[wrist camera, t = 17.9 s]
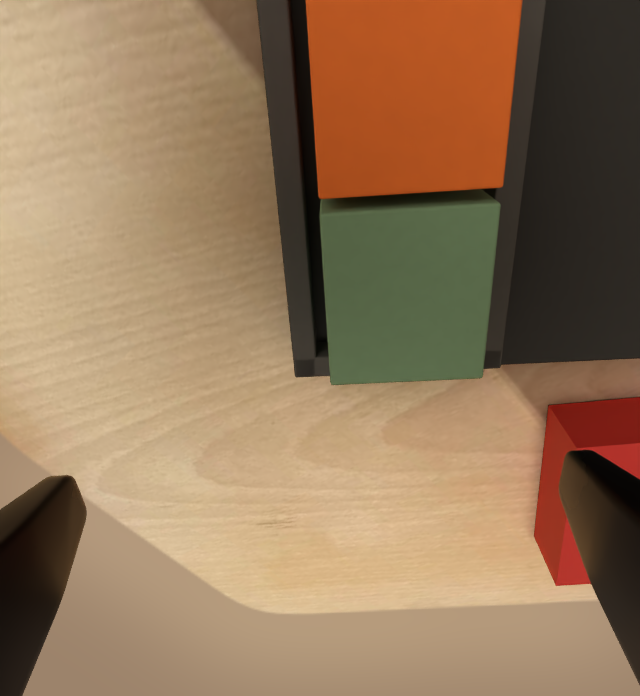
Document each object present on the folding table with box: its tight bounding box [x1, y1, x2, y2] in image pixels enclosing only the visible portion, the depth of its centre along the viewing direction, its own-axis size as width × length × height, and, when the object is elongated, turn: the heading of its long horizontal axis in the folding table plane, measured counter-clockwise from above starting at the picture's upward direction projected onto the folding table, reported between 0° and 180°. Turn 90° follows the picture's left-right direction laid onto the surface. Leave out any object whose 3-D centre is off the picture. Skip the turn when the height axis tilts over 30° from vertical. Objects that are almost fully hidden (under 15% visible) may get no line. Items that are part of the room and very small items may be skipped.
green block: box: [320, 189, 501, 385], centre depth 15 cm, size 4×5×4 cm
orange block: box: [306, 0, 522, 199], centre depth 13 cm, size 4×5×4 cm
